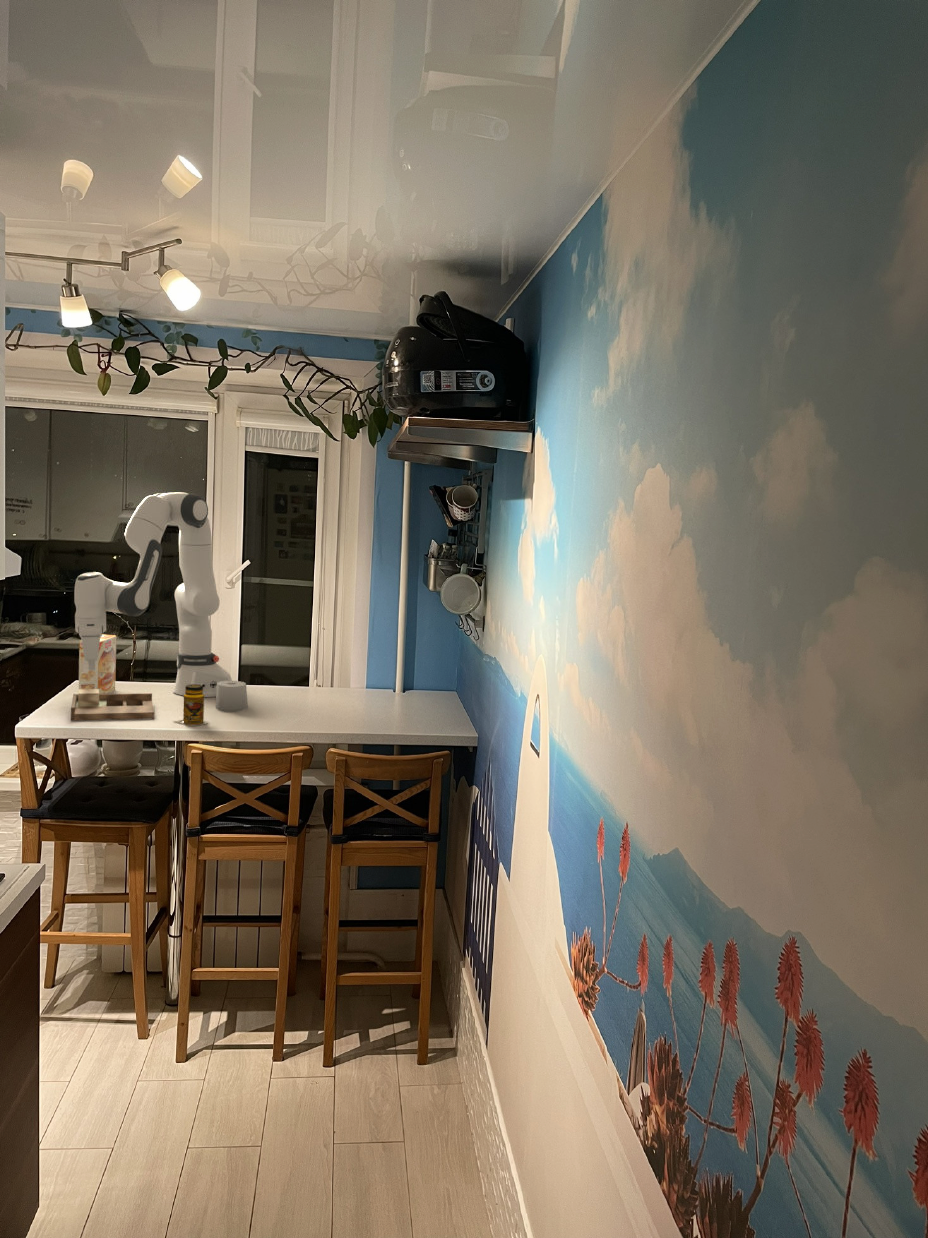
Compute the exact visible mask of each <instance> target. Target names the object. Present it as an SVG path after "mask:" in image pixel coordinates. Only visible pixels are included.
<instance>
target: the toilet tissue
mask: <svg viewBox="0 0 928 1238" xmlns="http://www.w3.org/2000/svg"><path fill="white" fill-rule="evenodd" d="M247 691H248V690H247V683H246V682H244V681H239V680H232V681H221V682H218V683H217V691H216V696H215V699H216V700H215V709H216V710H217V711H218V712H222V713H223V712H224V713H237V712H243V711H244V710H246V709H248V707H249V706H248V692H247Z"/></svg>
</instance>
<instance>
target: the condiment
mask: <svg viewBox="0 0 928 1238" xmlns="http://www.w3.org/2000/svg"><path fill="white" fill-rule="evenodd" d="M185 688H186V689H185V694H184V695H183V710H182V711H183V715H182V717H183V719H178V720H174V721H173V723H174V722H175V723H177V724H181V725H183V726H187V727H190V728H191V727H198V726H202V725H205V724H210V721H205V720H204V719H205V718H204V712H205V711H204V710H205V708H204V707H205V697H204V694H203V686H202V685H198V684H190V685H187V686H186V687H185ZM182 721H184V723H180V722H182ZM184 724H185V725H184Z"/></svg>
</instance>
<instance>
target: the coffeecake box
mask: <svg viewBox="0 0 928 1238" xmlns="http://www.w3.org/2000/svg"><path fill="white" fill-rule="evenodd" d="M78 642H79V646H78V648H79V650H78V653H79V656H78V657H79V658H78V690H79V689H99V694H111V693H112V692H113V691H116V671H117V670H116V668H117V667H116V664H117V662H116V661H117V635H113V634H102V636H101V638H100V644H99V654H98V660H97V661H95V670H92V671H90V670H89V664H88V661H85V658H84V653H83V646H82V639H81V640H79V641H78Z"/></svg>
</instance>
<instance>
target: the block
mask: <svg viewBox="0 0 928 1238" xmlns="http://www.w3.org/2000/svg"><path fill="white" fill-rule="evenodd" d="M77 694H78V706H99V689H79V688H78V693H77Z"/></svg>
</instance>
